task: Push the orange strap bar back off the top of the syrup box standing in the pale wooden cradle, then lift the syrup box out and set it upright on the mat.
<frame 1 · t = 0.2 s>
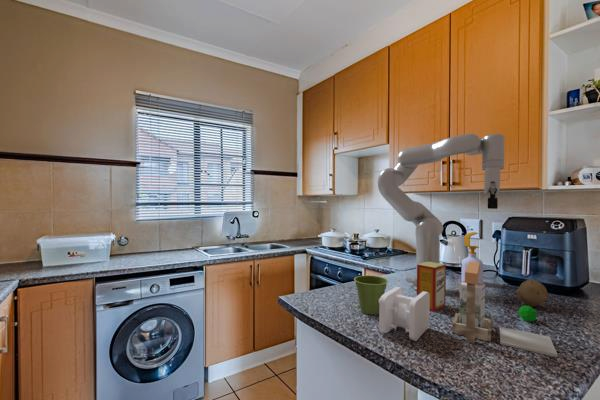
hand: (492, 208, 118), 37 cm above the worktop, tool pointing down, fingers open, 9 cm apart
syrup box: (472, 331, 89), resting in cradle
cradle: (472, 331, 89), on the worktop
strap bar: (472, 271, 89), point 18 cm above the worktop, slide at 0.0 cm
cable organizer: (404, 332, 89), on the worktop
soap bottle: (472, 283, 143), on the worktop
natural sponge: (532, 307, 112), on the worktop
baking soda box: (431, 306, 110), on the worktop
plant pot: (370, 311, 105), on the worktop
mat: (525, 341, 83), on the worktop
polyhedron: (527, 321, 98), on the worktop
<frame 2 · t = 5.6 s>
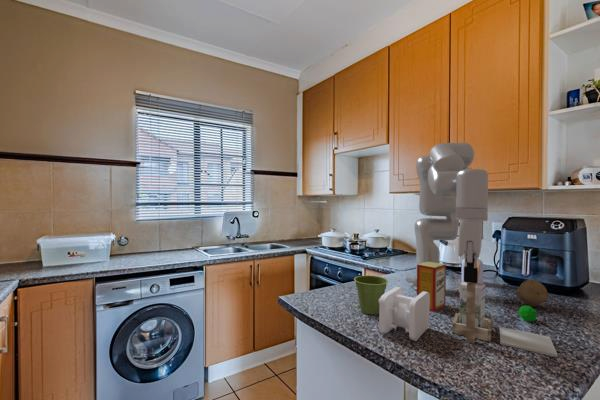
hand: (470, 281, 81), 17 cm above the worktop, tool pointing down, fingers closed
strap bar: (472, 271, 90), point 18 cm above the worktop, slide at 0.5 cm, touching gripper
everything else where it was.
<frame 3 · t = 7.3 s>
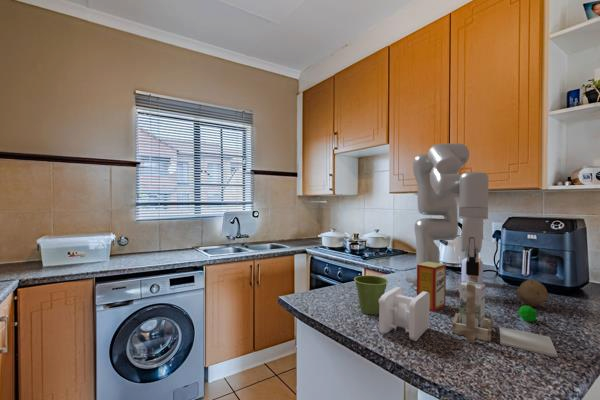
hand: (472, 274, 89), 17 cm above the worktop, tool pointing down, fingers closed
strap bar: (474, 266, 98), point 18 cm above the worktop, slide at 10.0 cm, touching gripper
everything else where it was.
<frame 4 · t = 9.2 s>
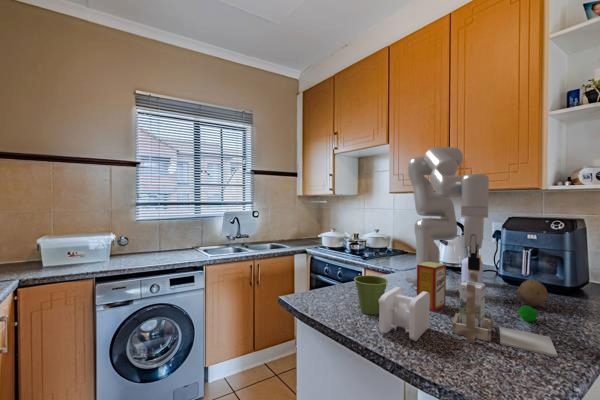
hand: (473, 269, 95), 17 cm above the worktop, tool pointing down, fingers closed
strap bar: (475, 262, 104), point 18 cm above the worktop, slide at 17.7 cm, touching gripper
everything else where it was.
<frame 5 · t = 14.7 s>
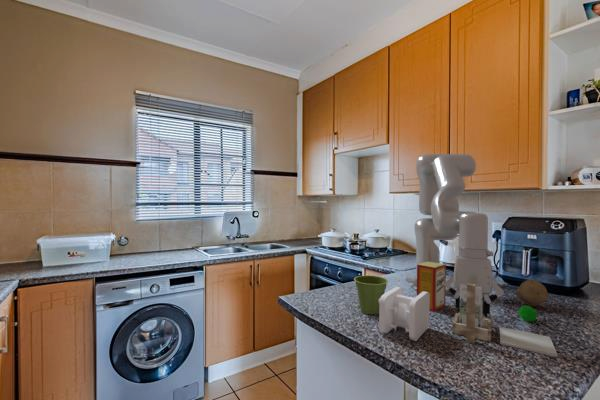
hand: (472, 312, 89), 6 cm above the worktop, tool pointing down, fingers closed on syrup box, 6 cm apart
syrup box: (472, 331, 89), resting in cradle, touching gripper
strap bar: (475, 262, 105), point 18 cm above the worktop, slide at 18.0 cm
everything else where it was.
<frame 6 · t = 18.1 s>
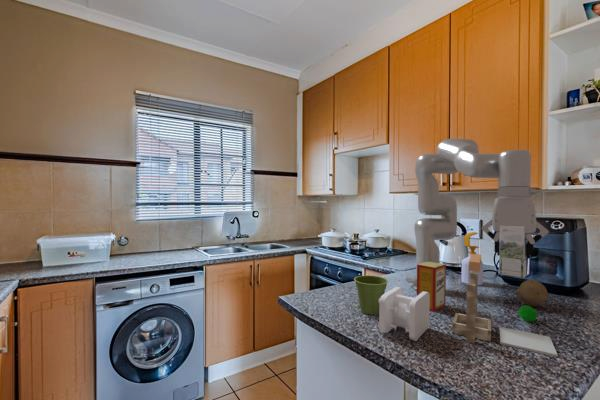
hand: (513, 255, 85), 24 cm above the worktop, tool pointing down, fingers closed on syrup box, 6 cm apart
syrup box: (512, 276, 85), point 18 cm above the worktop, touching gripper
everything else where it was.
when the fingers open (7 cm above the worktop, at t = 21.9 s): syrup box drops 1 cm, resting on mat.
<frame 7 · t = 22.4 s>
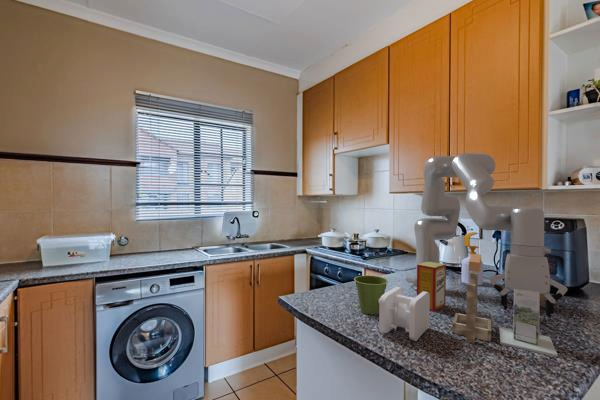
hand: (525, 311, 83), 8 cm above the worktop, tool pointing down, fingers open, 9 cm apart
syrup box: (526, 339, 83), resting on mat
everything else where it was.
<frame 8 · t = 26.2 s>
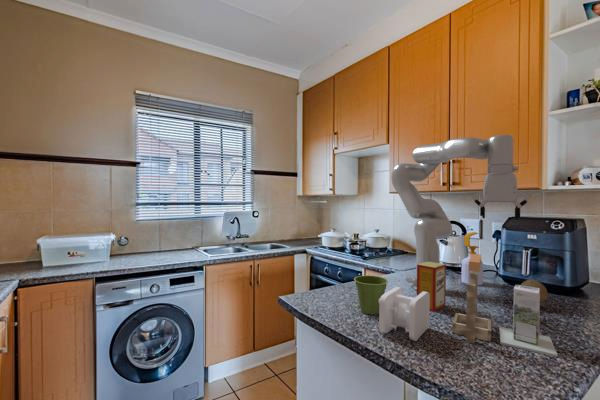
hand: (499, 218, 105), 33 cm above the worktop, tool pointing down, fingers open, 9 cm apart
nothing on the worktop moved.
at the end: strap bar slide at 18.0 cm; syrup box inside the target area on the mat (0.3 cm from its centre), point 0.4 cm above the mat's base; syrup box tilted 0° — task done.
